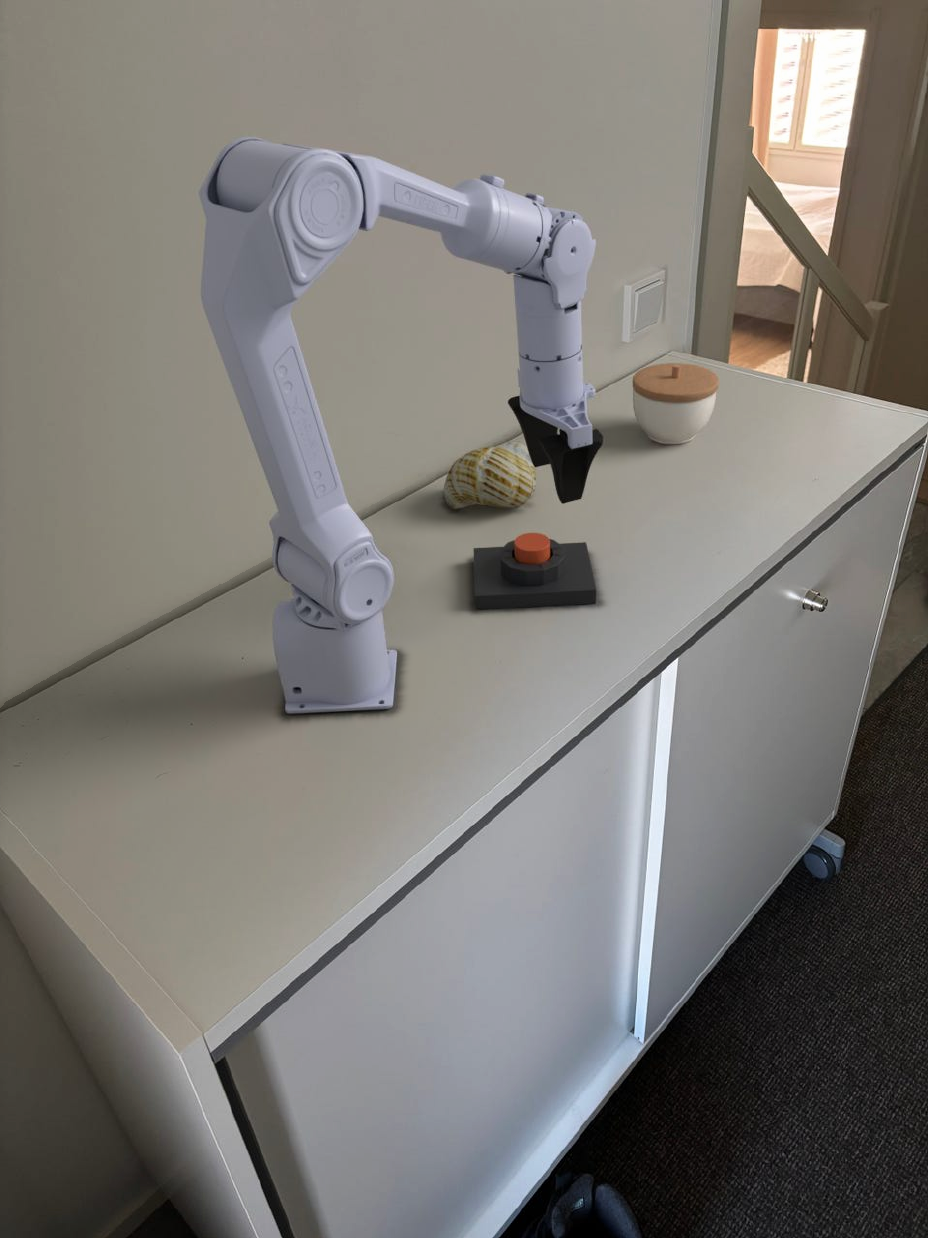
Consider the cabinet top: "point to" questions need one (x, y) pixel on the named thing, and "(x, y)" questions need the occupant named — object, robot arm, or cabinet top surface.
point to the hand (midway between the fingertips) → (556, 481)
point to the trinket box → (674, 401)
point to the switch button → (532, 548)
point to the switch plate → (533, 578)
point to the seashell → (492, 477)
